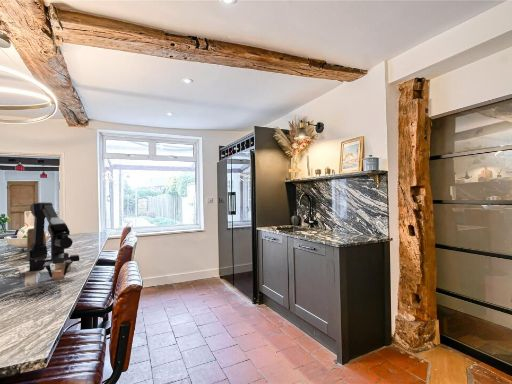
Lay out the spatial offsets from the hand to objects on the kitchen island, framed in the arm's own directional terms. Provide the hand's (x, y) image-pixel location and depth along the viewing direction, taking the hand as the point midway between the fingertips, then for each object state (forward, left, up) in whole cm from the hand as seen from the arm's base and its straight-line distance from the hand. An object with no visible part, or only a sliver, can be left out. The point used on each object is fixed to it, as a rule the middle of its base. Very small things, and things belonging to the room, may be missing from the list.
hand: (57, 276), depth 147 cm
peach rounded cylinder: (0, 0, -1) cm, 1 cm away
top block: (+3, +15, +4) cm, 16 cm away
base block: (+3, +15, 0) cm, 15 cm away
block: (-9, +78, -1) cm, 79 cm away
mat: (+3, +15, -1) cm, 15 cm away
